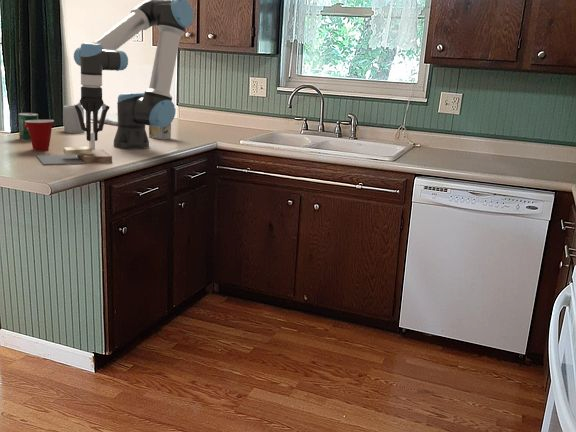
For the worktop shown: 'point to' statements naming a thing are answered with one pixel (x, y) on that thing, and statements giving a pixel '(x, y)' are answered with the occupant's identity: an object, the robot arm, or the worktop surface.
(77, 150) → the birch tile
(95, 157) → the walnut deck
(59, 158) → the rubber mat
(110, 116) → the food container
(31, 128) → the plastic cup
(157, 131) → the coffee box
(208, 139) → the worktop surface
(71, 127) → the cup
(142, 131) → the robot arm
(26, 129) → the canned tomato
